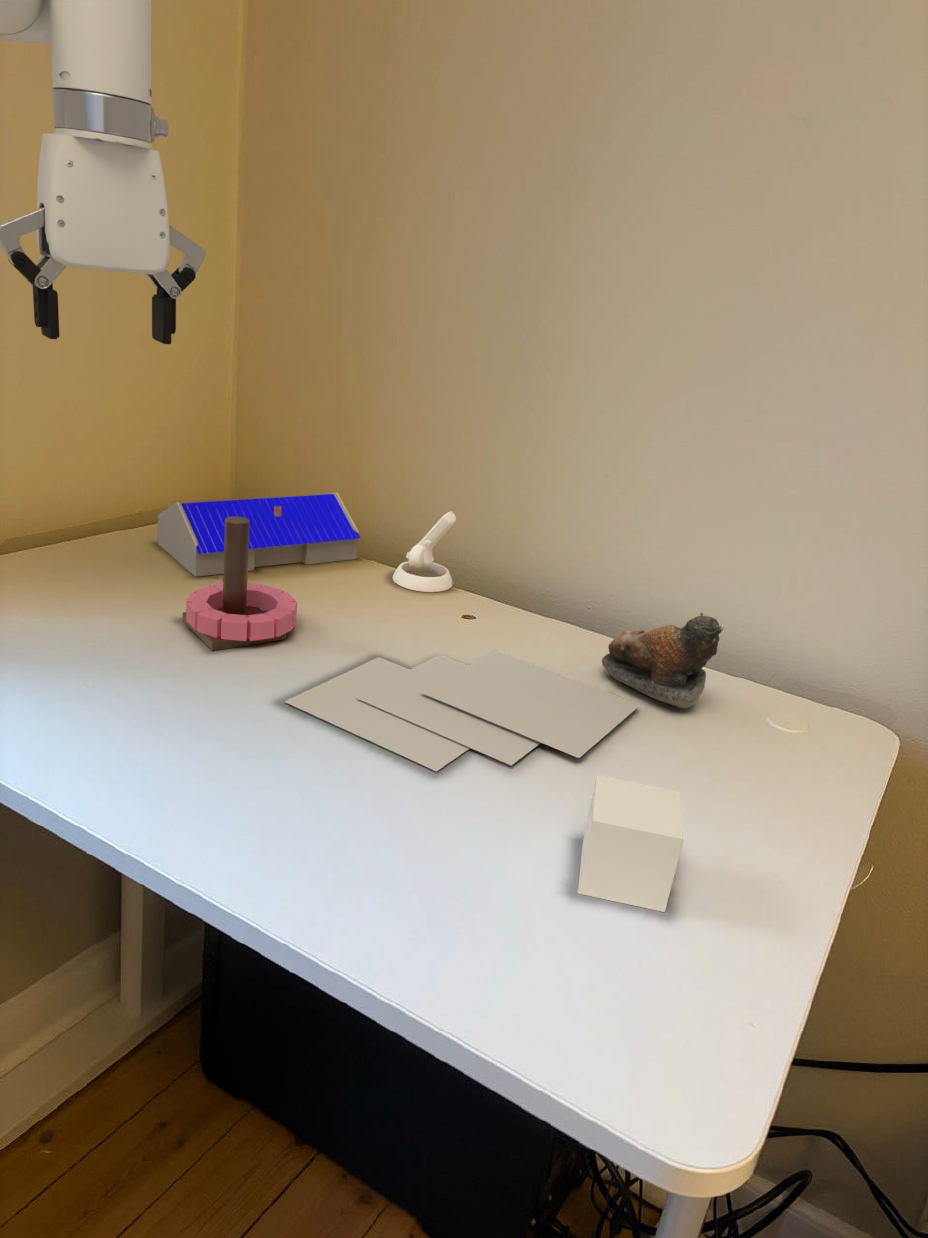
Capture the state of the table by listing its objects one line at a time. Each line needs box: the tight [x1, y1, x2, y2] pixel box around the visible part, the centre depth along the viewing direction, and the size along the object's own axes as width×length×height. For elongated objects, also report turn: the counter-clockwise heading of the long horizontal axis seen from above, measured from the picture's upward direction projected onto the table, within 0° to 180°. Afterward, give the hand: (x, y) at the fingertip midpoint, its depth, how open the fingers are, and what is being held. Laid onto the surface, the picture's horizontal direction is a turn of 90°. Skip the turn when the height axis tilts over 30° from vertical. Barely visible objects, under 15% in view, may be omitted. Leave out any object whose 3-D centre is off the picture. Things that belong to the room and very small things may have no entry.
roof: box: [156, 491, 361, 578], centre depth 118 cm, size 22×14×7 cm, turn 127°
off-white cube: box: [577, 774, 685, 913], centre depth 64 cm, size 6×6×6 cm
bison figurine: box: [601, 612, 725, 709], centre depth 93 cm, size 12×7×10 cm, turn 41°
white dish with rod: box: [392, 510, 457, 593], centre depth 114 cm, size 8×12×7 cm
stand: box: [181, 516, 287, 652], centre depth 94 cm, size 8×8×12 cm
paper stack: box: [284, 650, 642, 772], centre depth 86 cm, size 23×25×1 cm
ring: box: [185, 582, 298, 641], centre depth 96 cm, size 11×11×2 cm
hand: (107, 339), depth 82 cm, fingers open, 9 cm apart
